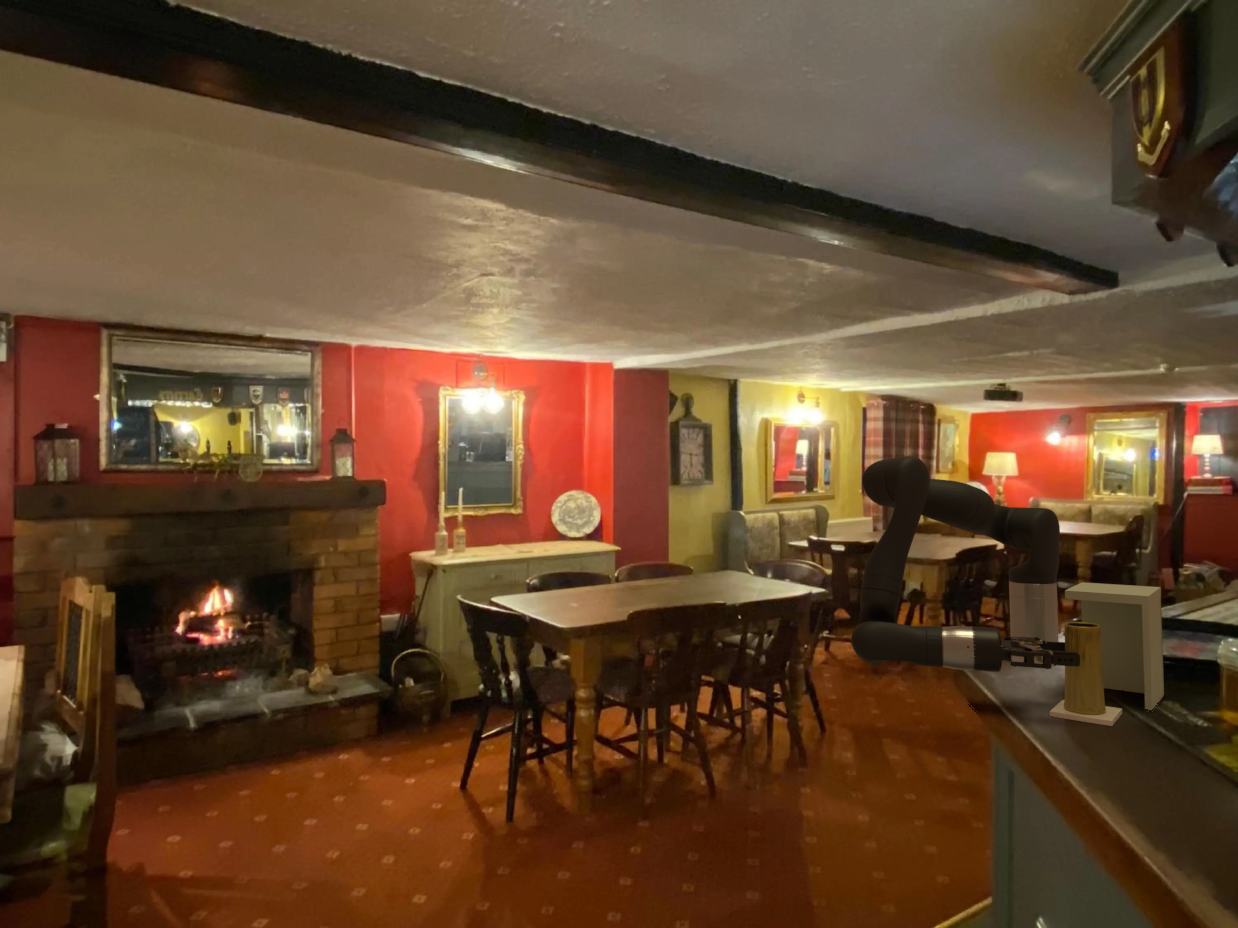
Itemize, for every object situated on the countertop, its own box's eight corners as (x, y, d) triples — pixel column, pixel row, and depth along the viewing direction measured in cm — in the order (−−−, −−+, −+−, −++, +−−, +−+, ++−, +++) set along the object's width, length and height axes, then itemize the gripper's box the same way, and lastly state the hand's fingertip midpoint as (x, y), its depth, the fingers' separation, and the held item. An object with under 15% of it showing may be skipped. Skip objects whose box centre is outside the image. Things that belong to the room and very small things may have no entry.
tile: (1062, 704, 142) (1062, 699, 142) (1122, 713, 136) (1122, 708, 136) (1049, 716, 135) (1049, 711, 135) (1111, 726, 129) (1111, 720, 129)
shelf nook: (1085, 683, 155) (1082, 582, 156) (1164, 694, 147) (1160, 587, 147) (1067, 699, 145) (1064, 590, 145) (1152, 711, 136) (1148, 596, 137)
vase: (1112, 710, 135) (1109, 624, 135) (1096, 717, 131) (1093, 629, 132) (1073, 702, 140) (1071, 619, 140) (1057, 709, 136) (1054, 624, 136)
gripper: (972, 634, 135) (1082, 639, 129) (967, 620, 148) (1067, 624, 143) (973, 679, 135) (1083, 686, 129) (968, 661, 148) (1068, 667, 143)
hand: (1075, 654), depth 136 cm, fingers open, 8 cm apart
